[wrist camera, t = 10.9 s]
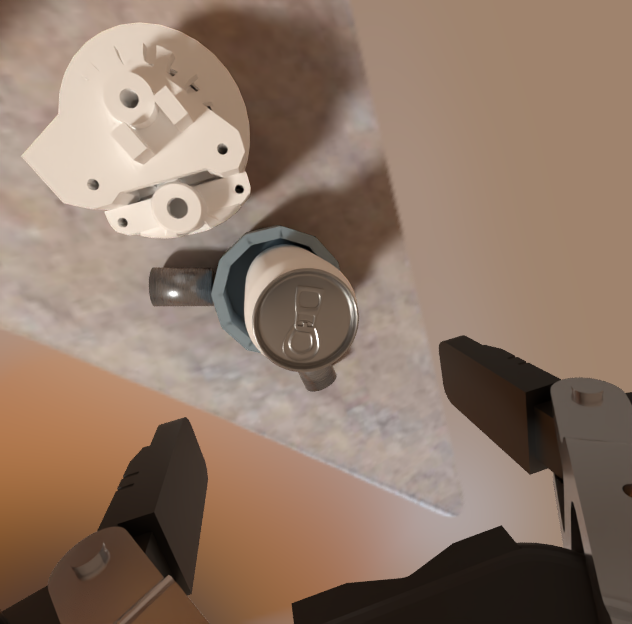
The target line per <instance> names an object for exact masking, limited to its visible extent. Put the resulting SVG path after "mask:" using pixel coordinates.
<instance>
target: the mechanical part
mask: <svg viewBox="0 0 632 624" xmlns="http://www.w3.org/2000/svg"><path fill="white" fill-rule="evenodd" d="M249 148H250V129H249V120H248V115H247V110H246V106H245V103H244V100H243V98H242V95H241V93H240V90H239V88H238V86H237V84H236V83H235V81H234V79H233V78H232V76H231V75H230V73H229V71H228V70H227V68H226V67H225V66H224V65H223V64H222V63H221V62H220V60H219V59H218V58H217V57H216V56H215V55H214V54H213V53H212V52H211V51H210V50H208V49H207V48H206V47H205V46H203V45H202V44H201V43H200V42H198V41H197V40H195V39H193V38H191V37H190V36H188V35H186V34H184V33H182V32H180V31H178V30H175V29H172V28H169V27H166V26H162V25H158V24H149V23H131V24H123V25H118V26H116V27H113V28H110V29H107V30H105V31H102V32H100V33H99V34H97V35H96V36H95V37H93V38H92V39H90V40H89V41H87V42H86V43H85V44H84V45H83V46H82V47H81V49H80V50H79V51H78V52H77V53H76V54H75V55H74V56H73V58H72V60H71V62H70V64H69V66H68V68H67V70H66V71H65V73H64V77H63V81H62V85H61V88H60V92H59V114H58V115H57V116H56V117H55V118H54V120H53V121H52V122H51V123H50V124H49V125H48V126H47V127H46V129H45V130H44V131H43V132H42V133H41V134H40V135H39V136H38V138H37V139H36V140H35V141H34V142H33V143H32V144H31V145H30V147H29V148H28V149H27V150H26V151H25V152H24V153H23V155H22V156H21V157H22V158H23V159H24V160H25V161H26V162H27V163H28V164H29V165H30V167H31V168H32V169H33V170H34V171H35V172H36V173H37V174H38V175H39V177H40V178H41V179H42V180H43V181H44V182H45V183H46V184H47V185H48V187H49V188H50V189H51V190H52V191H53V192H54V193H55V194H56V195H57V197H58V198H59V199H60V200H61V201H62V202H63V203H65V204H70V205H75V206H79V207H84V208H88V209H97V210H109V211H105V215H106V217H107V219H108V221H109V223H110V225H111V226H112V228H113V229H114V230H115V231H116V232H119V233H123V234H126V235H134V234H136V235H141V236H144V237H150V238H175V237H182V236H185V235H189V234H194V233H199V232H203V231H206V230H209V229H211V228H214V227H216V226H218V225H219V224H221V223H223V222H225V221H227V220H228V219H229V218H230V217H232V216H233V215H234V214H236V213H237V211H238V210H239V209H240V208H241V206H242V205H243V204H244V203H245V202H246V200H247V199H248V198H249V197H250V191H251V186H250V183H249V180H248V176H247V173H246V172H245V167H246V165H247V161H248V155H249ZM239 204H240V205H241V206H240V205H239Z"/></svg>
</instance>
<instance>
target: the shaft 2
mask: <svg viewBox="0 0 632 624" xmlns="http://www.w3.org/2000/svg"><path fill="white" fill-rule="evenodd" d="M298 373H299V375H300V377H301V379H302V381H303V383H304V385H305V387H306V389H307V390H308V391H319V390H322V389H324V388H326V387H328V386H329V385H331V384H332V383H333V382H334V381H335V379H336V373H335V370H334V368H333V366H332V364H331V365H329V366H327V367H325V368H322V369H319V370H316V371H310V372H298Z"/></svg>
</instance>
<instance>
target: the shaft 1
mask: <svg viewBox="0 0 632 624" xmlns="http://www.w3.org/2000/svg"><path fill="white" fill-rule="evenodd" d="M214 280H215V277H214V270H213V268H152V269H151V272H150V277H149V293H150V299H151V302H152V304H153V306H214V302H213V299H212V296H211V295H212V294H211V293H212V289H213V285H214Z"/></svg>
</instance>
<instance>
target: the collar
mask: <svg viewBox="0 0 632 624" xmlns="http://www.w3.org/2000/svg"><path fill="white" fill-rule="evenodd" d="M280 244H290V245H295V246H299V247H301V248H303V249H305V250H307V251H309V252H311V253H313V254H315V255H316V256H318V257H320V258H322V259H324V260H325V261H327V262H329V263H330V264H332V265H333V266H334V267H336V268H337V269H338V270H339V271H340V268H339V264H338V261H337V260H336V259H335V258H334V257H333V256H332V255H331V253H330V252H329V251H328V250H327V249H326V248H325V247H324V246H323V245H322V244H321V242H320V241H319V240H318V239H317V238H316V237H315V236H312V235H309V234H305V233H302V232H299V231H296V230H292V229H289V228H286V227H283V226H279V225H275V226H271V227H267V228H261V229H258V230H255V231H251V232H246V233H245V234H244V235H243V236H242V237H241V238H240V239H239V240H238V241H237V242H236V243H235V244H234V245H233V246H232V247H231V248H230V249H229V250H228V251H227V252H226V253H225V254H224V255H223V256H222V257H221V259H220V260H219V264H218V268H217V272H216V276H215V280H214V285H213V289H212V293H211V294H212V295H211V296H212V299H213V302H214V306H215V309H216V312H217V315H218V318H219V321H220V324H221V327H222V328H223V329H224V330H225V331H226V332H227V333H228V334H229V335H231V336H232V337H233V338H234V339H235V340H236V341H237V342H238V343H240V344H241V345H242V346H243V347H244V348H245V349H246V350H247V349H248V350H249V351H254V352H258V353H261V352H260V351H259V350H258V349H257V348H256V346H255V345H254V343H253V342H252V340H251V338H250V336H249V334H248V331H247V328H246V324H245V317H244V300H245V283H246V276H247V272H248V269H249V267H250V265H251V263H252V261H253V260H254V259H255V258H256V256H257V255H259V254H260V253H261V252H262V251H264V250H265V249H267V248H269V247H272V246H275V245H280Z"/></svg>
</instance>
